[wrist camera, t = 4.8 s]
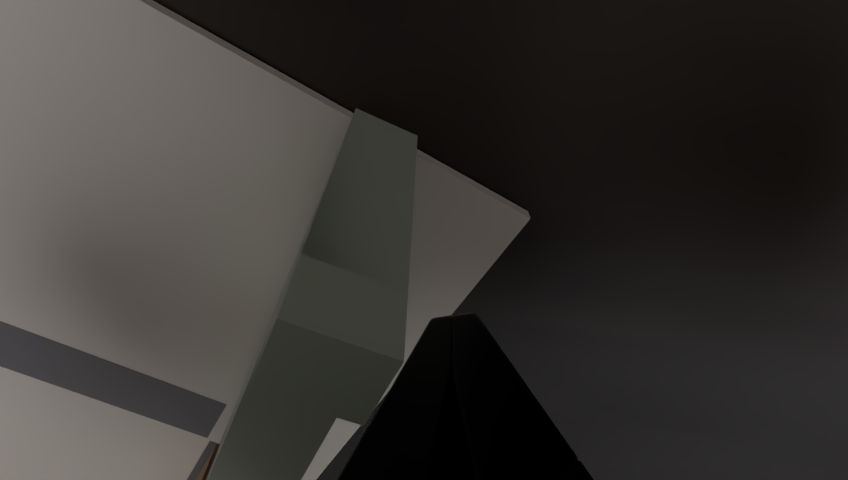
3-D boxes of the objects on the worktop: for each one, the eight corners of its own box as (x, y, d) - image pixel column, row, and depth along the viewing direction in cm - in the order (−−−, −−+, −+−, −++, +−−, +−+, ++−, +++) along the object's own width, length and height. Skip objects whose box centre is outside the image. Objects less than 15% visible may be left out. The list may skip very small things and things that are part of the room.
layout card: (232, 575, 19) (230, 584, 19) (-217, 449, 16) (-228, 459, 15) (528, 211, 11) (530, 218, 11) (-296, -252, 7) (-324, -259, 7)
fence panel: (277, 425, 14) (197, 692, 9) (232, 412, 14) (127, 680, 9) (417, 136, 9) (403, 361, 5) (355, 108, 9) (276, 318, 4)
